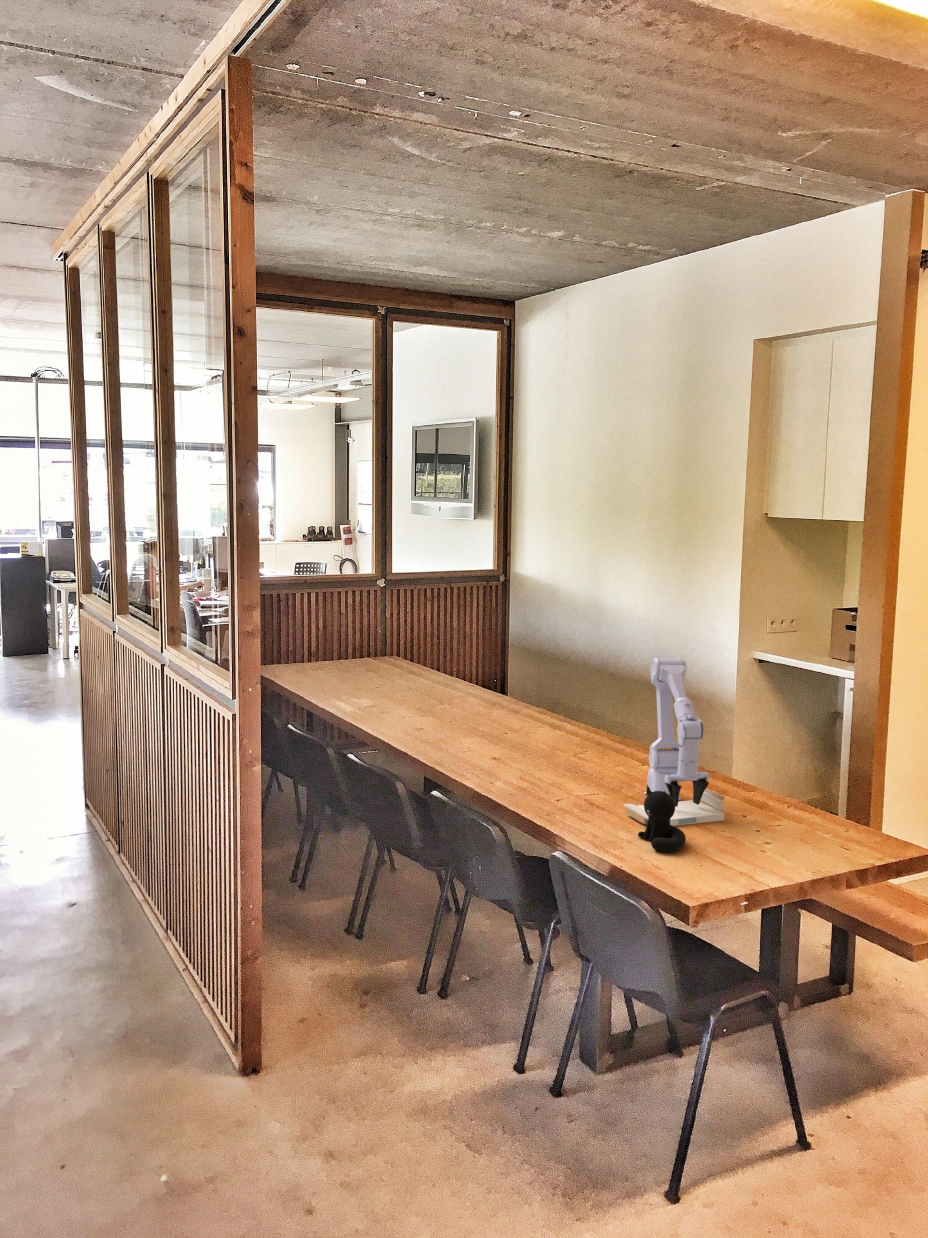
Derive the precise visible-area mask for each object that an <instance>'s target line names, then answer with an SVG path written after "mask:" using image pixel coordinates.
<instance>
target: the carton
mask: <svg viewBox="0 0 928 1238" xmlns="http://www.w3.org/2000/svg"><path fill="white" fill-rule="evenodd" d="M637 806H638V807H640V808H642V809H643V810H644V804H641V805H637ZM721 821H725V813H724V812H723V811H721V810H719V809H718V810H717V808H715V807H713V806H711V805H709V804H707V803H706V804H705V802H703V801H700V803H699V804H698V805H697V804H695V803H693V799H690V800H689V799H688V800H678V806H677V807H675V812H674V815H673V816H672V817H671V818H670V825H672V826H675V827H677V826H686V825H694V824H695V825H696V824H703V823H713V822H721Z"/></svg>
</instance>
